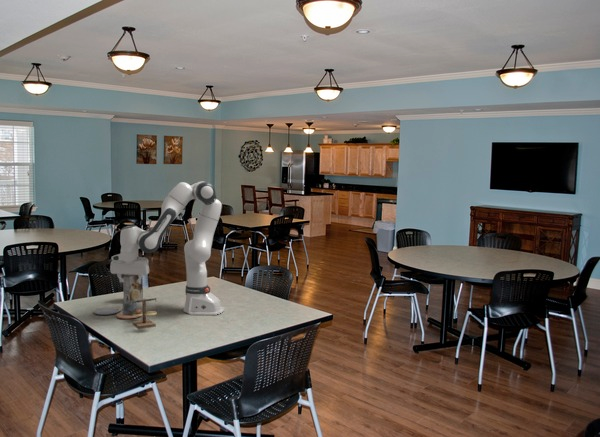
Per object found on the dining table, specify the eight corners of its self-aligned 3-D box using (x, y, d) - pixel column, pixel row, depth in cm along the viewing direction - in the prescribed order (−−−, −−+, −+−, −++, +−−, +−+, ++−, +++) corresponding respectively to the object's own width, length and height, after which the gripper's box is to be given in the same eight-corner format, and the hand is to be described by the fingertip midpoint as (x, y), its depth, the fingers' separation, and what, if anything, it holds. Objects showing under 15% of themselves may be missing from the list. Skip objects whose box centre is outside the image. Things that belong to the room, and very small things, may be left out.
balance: (160, 329, 252) (160, 298, 251) (144, 332, 248) (144, 301, 246) (143, 318, 271) (143, 289, 269) (128, 320, 266) (128, 291, 264)
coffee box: (136, 299, 310) (136, 272, 308) (143, 301, 306) (143, 274, 304) (123, 302, 302) (122, 274, 301) (129, 304, 298) (129, 276, 297)
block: (136, 313, 276) (136, 302, 275) (132, 315, 271) (132, 304, 270) (127, 312, 276) (127, 301, 276) (123, 315, 272) (123, 303, 271)
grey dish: (123, 310, 285) (123, 308, 285) (112, 316, 272) (112, 314, 272) (101, 308, 287) (101, 306, 287) (89, 314, 274) (88, 312, 274)
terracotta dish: (146, 313, 279) (146, 311, 279) (135, 320, 267) (135, 318, 266) (123, 312, 281) (123, 310, 281) (111, 318, 268) (111, 316, 268)
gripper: (151, 256, 273) (151, 282, 274) (114, 254, 275) (115, 280, 277) (145, 258, 266) (146, 284, 268) (108, 256, 269) (109, 283, 271)
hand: (130, 282), depth 272 cm, fingers open, 8 cm apart
